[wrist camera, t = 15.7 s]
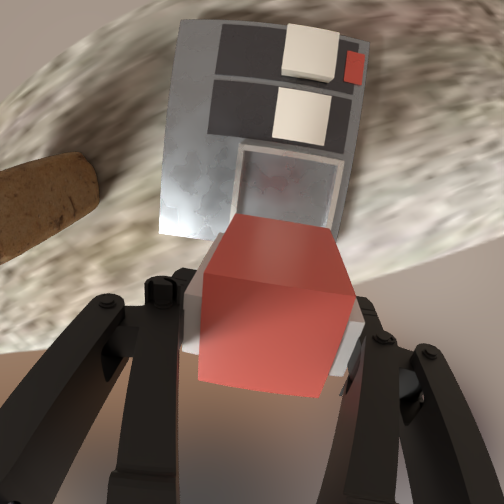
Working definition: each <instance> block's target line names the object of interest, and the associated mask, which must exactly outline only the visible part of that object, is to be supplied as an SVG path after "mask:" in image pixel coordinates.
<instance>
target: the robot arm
mask: <svg viewBox="0 0 504 504" xmlns="http://www.w3.org/2000/svg"><path fill="white" fill-rule="evenodd" d="M223 235H224V233H221V232H219V234H218V235H217V237H216V239H215V241H214V242H213V244H212V246H211V247H210V249H209V251H208V252H207V254H206V256H205V258H204V259H203V261H202V263H201V265H200V266H199V268H198V270H193V269H188V268H181V269H179V270H177V271H175V272H174V274H173V275H172V277H169V276H155V277H151V278H149V279H148V280H146V282H145V283H144V284H145V305H143V306H125V303H124V299H123V298H122V297H120V296H118V295H116V294H110V293H107V294H101V295H98V296H96V297H95V298H93V299H92V300H91V301H90V302H89V303H88V305H87V306H86V307H85V308H84V309H83V310H82V311H81V312H80V313H79V314H78V315H77V317H76V318H75V319H74V320H73V321H72V322H71V323H70V324H69V325H68V327H67V328H66V329H65V330H64V331H63V332H62V333H61V334H60V336H59V337H58V338H57V339H56V340H55V341H54V342H53V344H52V345H51V346H50V347H49V348H48V349H47V351H46V352H45V353H44V354H43V355H42V357H41V358H40V359H39V360H38V361H37V363H36V364H35V365H34V366H33V367H32V369H31V370H30V371H29V372H28V374H27V375H26V376H25V377H24V378H23V380H22V381H21V382H20V383H19V385H18V386H17V387H16V389H15V390H14V391H13V392H12V394H11V395H10V396H9V398H8V399H7V400H6V401H5V403H4V404H3V405H2V407H1V408H0V504H52V503H53V501H54V499H55V497H56V495H57V493H58V491H59V489H60V487H61V485H62V483H63V481H64V479H65V477H66V475H67V473H68V471H69V468H70V467H71V464H72V463H73V461H74V459H75V457H76V455H77V453H78V451H79V449H80V447H81V445H82V443H83V441H84V439H85V438H86V436H87V434H88V432H89V430H90V428H91V426H92V424H93V423H94V421H95V419H96V417H97V415H98V413H99V411H100V409H101V408H102V406H103V404H104V402H105V400H106V399H107V397H108V395H109V393H110V391H111V390H112V388H113V386H114V384H115V383H116V381H117V379H118V377H119V376H120V374H121V372H122V370H123V369H124V367H125V365H126V363H127V362H128V360H129V357H133V361H132V366H131V371H130V377H129V383H128V388H127V393H126V399H125V406H124V412H123V420H122V426H121V433H120V441H119V448H118V457H117V465H116V469H115V470H114V471H112V472H111V474H110V477H109V483H108V493H107V504H180V487H179V455H178V384H179V349H180V346H181V344H182V351H183V352H188V353H192V354H197V355H199V342H200V322H201V305H202V289H203V274H204V271H205V269H206V267H207V265H208V263H209V261H210V260H211V258H212V256H213V254H214V252H215V250H216V248H217V246H218V244H219V243H220V241H221V239H222V237H223ZM347 367H348V371H349V375H348V378H347V380H346V382H345V384H344V386H343V388H342V390H341V393H340V395H339V396H342V395H343V396H342V402H341V407H340V411H339V416H338V421H337V426H336V430H335V435H334V439H333V444H332V448H331V452H330V456H329V459H328V463H327V467H326V471H325V475H324V478H323V482H322V486H321V489H320V493H319V496H318V499H317V503H316V504H398V503H396V502H395V489H396V478H397V466H398V449H399V437H400V441H401V446H402V450H403V454H404V459H405V464H406V468H407V473H408V478H409V483H410V488H411V493H412V499H413V504H504V496H503V493H502V490H501V487H500V484H499V481H498V478H497V475H496V472H495V469H494V467H493V464H492V461H491V458H490V456H489V453H488V451H487V448H486V446H485V443H484V441H483V439H482V436H481V433H480V431H479V429H478V426H477V424H476V422H475V419H474V417H473V415H472V413H471V410H470V408H469V406H468V404H467V402H466V400H465V397H464V395H463V393H462V391H461V389H460V387H459V385H458V383H457V381H456V379H455V377H454V375H453V373H452V371H451V369H450V367H449V365H448V363H447V361H446V359H445V358H444V356H443V354H442V353H441V351H440V350H439V349H437V348H436V347H435V346H432V345H430V344H424V343H423V344H419V345H417V346H416V348H415V350H414V352H413V351H410V350H407V349H404V348H401V347H398V345H397V341H396V339H395V338H394V336H393V335H391V334H390V333H388V332H386V331H384V330H383V328H382V325H381V323H380V320H379V318H378V317H377V313H376V311H375V308H374V306H373V304H372V303H371V302H370V301H369V300H368V299H367V298H366V297H359V296H356V299H355V302H354V305H353V308H352V311H351V314H350V317H349V320H348V323H347V325H346V328H345V331H344V334H343V337H342V340H341V342H340V345H339V348H338V350H337V353H336V356H335V358H334V361H333V364H332V366H331V369H330V371H329V374H328V375H331V376H343V375H344V373H345V370H346V368H347ZM423 394H424V400H423V398H422V395H423Z"/></svg>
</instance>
